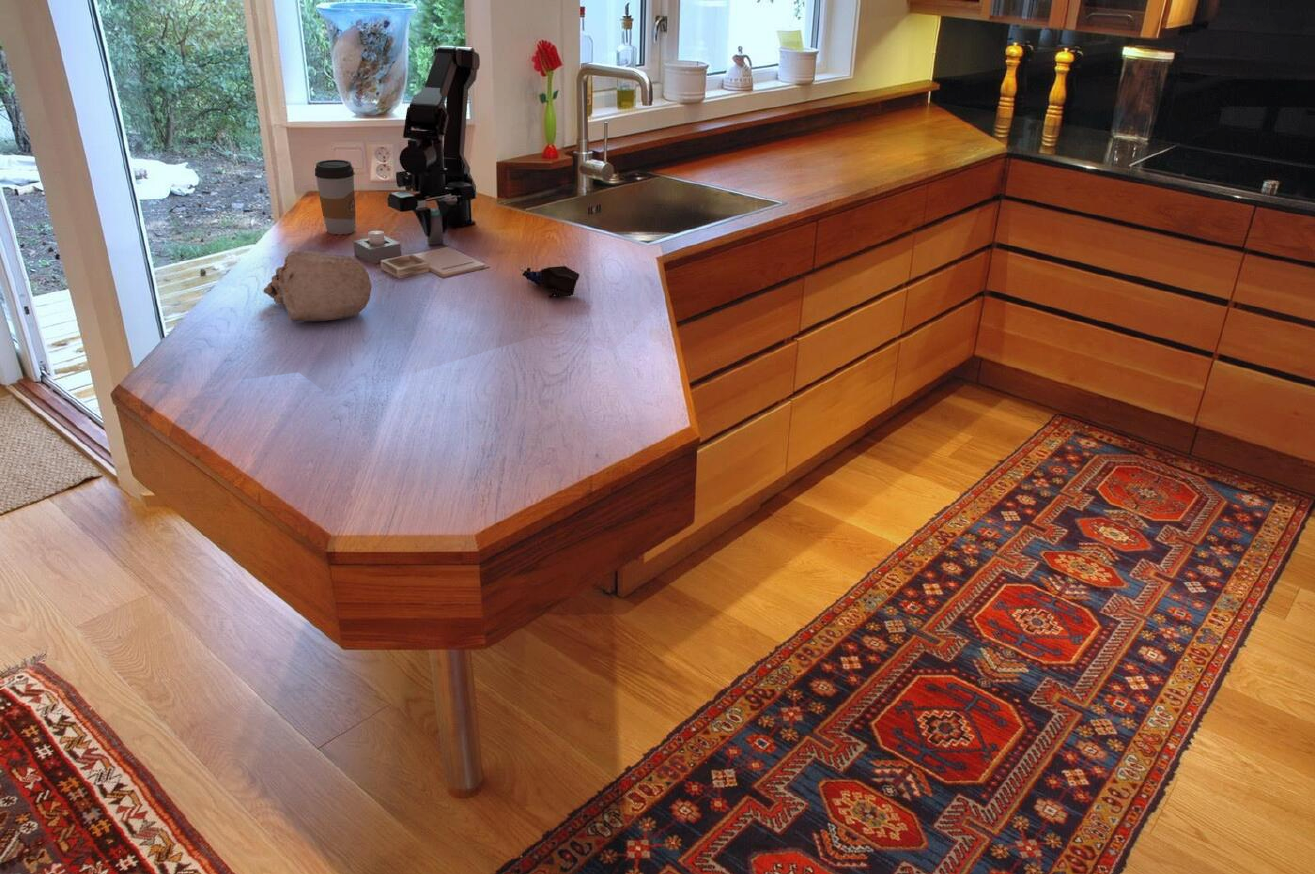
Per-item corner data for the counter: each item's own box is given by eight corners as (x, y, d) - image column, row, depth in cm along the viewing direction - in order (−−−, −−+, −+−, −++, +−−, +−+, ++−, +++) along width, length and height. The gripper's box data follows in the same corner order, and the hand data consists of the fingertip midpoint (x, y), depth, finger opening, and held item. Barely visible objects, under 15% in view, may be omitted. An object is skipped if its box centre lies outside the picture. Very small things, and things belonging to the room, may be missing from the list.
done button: (380, 243, 213) (379, 229, 212) (388, 247, 211) (386, 233, 210) (366, 246, 211) (365, 232, 210) (374, 250, 209) (372, 236, 208)
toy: (554, 268, 205) (591, 270, 193) (549, 299, 206) (585, 303, 194) (514, 259, 200) (549, 261, 188) (508, 291, 201) (543, 295, 188)
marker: (438, 238, 222) (435, 207, 219) (446, 242, 220) (444, 211, 217) (424, 241, 220) (422, 210, 217) (433, 245, 218) (430, 213, 215)
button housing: (384, 248, 216) (383, 235, 215) (401, 257, 212) (400, 243, 210) (354, 254, 212) (353, 241, 211) (371, 263, 208) (370, 249, 206)
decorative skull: (258, 242, 185) (270, 254, 167) (357, 243, 192) (377, 255, 175) (262, 309, 188) (273, 328, 171) (358, 308, 196) (379, 326, 178)
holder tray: (411, 262, 209) (410, 254, 209) (429, 271, 205) (429, 263, 204) (381, 269, 205) (380, 260, 204) (399, 278, 201) (398, 269, 200)
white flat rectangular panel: (449, 248, 218) (448, 245, 218) (489, 267, 209) (489, 264, 208) (403, 258, 211) (403, 255, 211) (442, 278, 202) (442, 275, 201)
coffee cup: (349, 238, 222) (342, 170, 214) (314, 234, 223) (306, 166, 216) (366, 227, 229) (360, 161, 221) (332, 223, 230) (325, 157, 223)
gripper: (447, 150, 223) (451, 219, 230) (371, 161, 211) (377, 233, 219) (475, 160, 216) (478, 231, 223) (398, 172, 204) (404, 246, 212)
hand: (435, 235), depth 220 cm, fingers closed on marker, 3 cm apart
